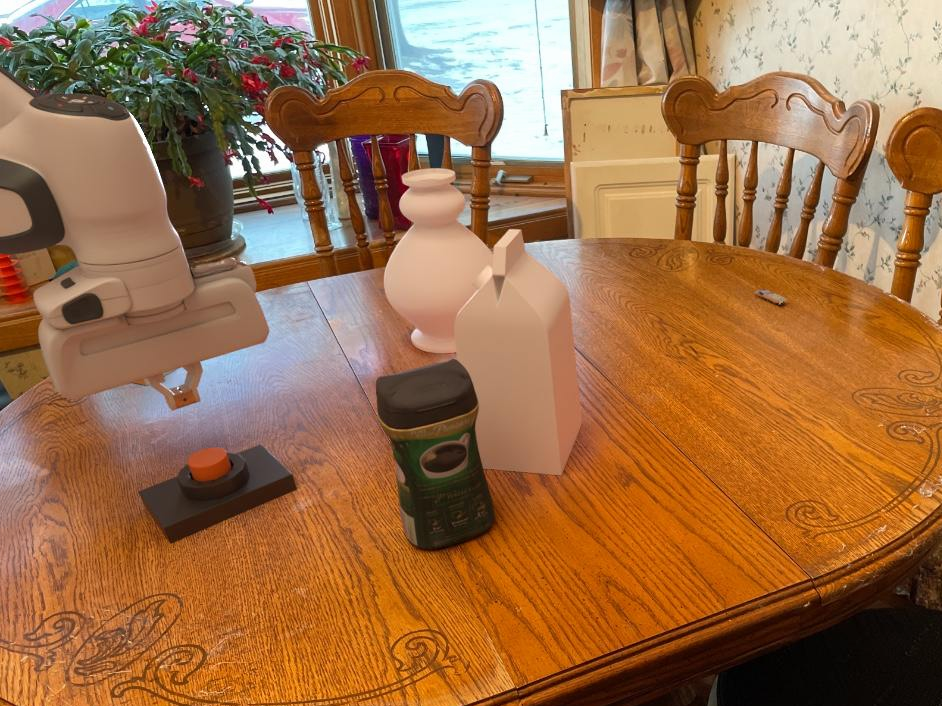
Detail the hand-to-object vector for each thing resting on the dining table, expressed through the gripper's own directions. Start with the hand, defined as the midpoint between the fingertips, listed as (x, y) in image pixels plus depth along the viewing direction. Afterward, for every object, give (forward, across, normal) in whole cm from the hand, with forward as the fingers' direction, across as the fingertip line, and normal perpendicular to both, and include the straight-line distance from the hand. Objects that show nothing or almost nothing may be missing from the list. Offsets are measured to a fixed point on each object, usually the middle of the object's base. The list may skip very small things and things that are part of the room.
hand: (184, 404), depth 82 cm
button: (+9, 0, 0) cm, 9 cm away
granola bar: (+12, -90, +9) cm, 91 cm away
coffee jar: (+12, -16, +23) cm, 31 cm away
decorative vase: (+12, -43, -18) cm, 48 cm away
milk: (+12, -32, +16) cm, 38 cm away
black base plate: (+12, 0, 0) cm, 12 cm away
